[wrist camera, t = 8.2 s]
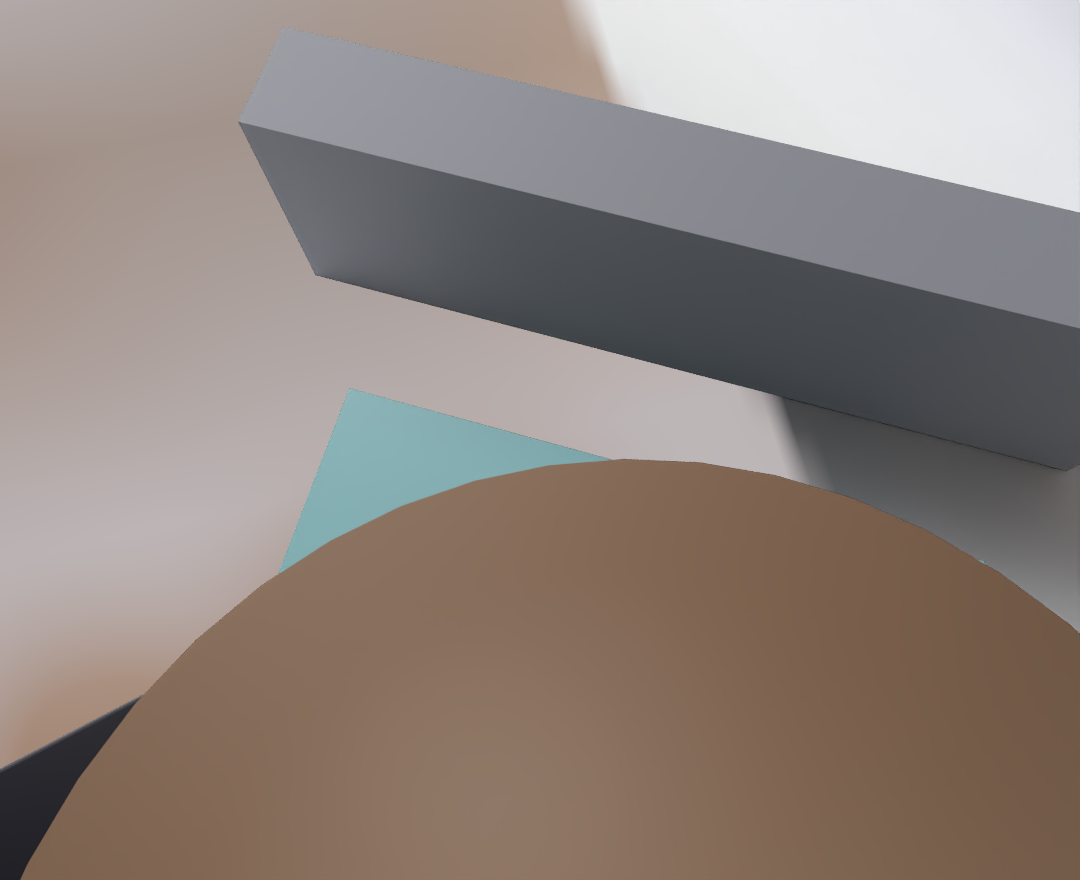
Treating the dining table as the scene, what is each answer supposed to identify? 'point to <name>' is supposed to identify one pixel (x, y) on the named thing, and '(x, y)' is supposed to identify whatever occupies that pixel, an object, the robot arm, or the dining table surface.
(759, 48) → the dining table surface
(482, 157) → the charcoal wall
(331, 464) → the socket block
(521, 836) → the walnut dowel
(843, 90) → the dining table surface
